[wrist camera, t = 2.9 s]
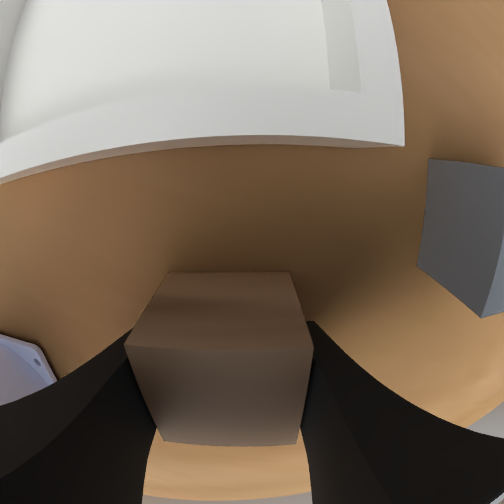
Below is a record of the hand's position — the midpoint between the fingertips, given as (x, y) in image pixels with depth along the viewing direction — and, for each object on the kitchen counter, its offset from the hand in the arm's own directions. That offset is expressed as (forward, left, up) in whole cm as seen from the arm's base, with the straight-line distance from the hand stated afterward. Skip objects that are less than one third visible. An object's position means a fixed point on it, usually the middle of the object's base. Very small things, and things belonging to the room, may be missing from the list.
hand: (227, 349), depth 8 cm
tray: (+13, +3, -1) cm, 13 cm away
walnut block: (0, 0, -2) cm, 2 cm away
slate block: (+4, -9, -2) cm, 10 cm away
